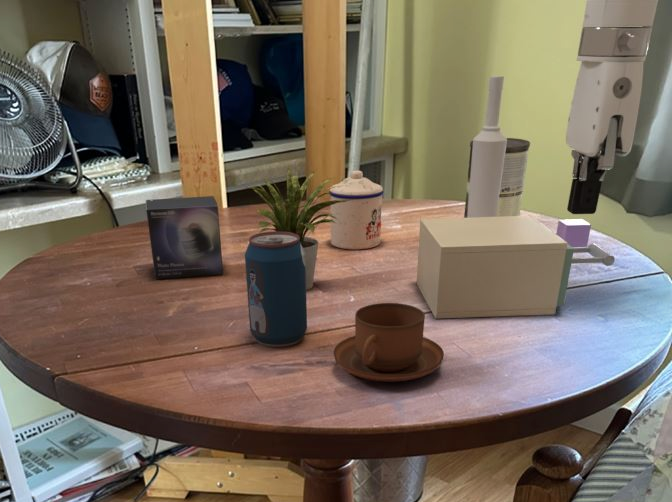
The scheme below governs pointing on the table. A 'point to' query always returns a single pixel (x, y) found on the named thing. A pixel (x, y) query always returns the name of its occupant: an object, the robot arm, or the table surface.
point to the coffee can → (508, 178)
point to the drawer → (592, 249)
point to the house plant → (296, 216)
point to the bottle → (488, 158)
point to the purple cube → (574, 232)
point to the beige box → (489, 266)
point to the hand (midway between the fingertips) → (581, 212)
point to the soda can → (276, 288)
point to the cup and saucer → (389, 344)
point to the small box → (184, 237)
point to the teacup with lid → (356, 213)
